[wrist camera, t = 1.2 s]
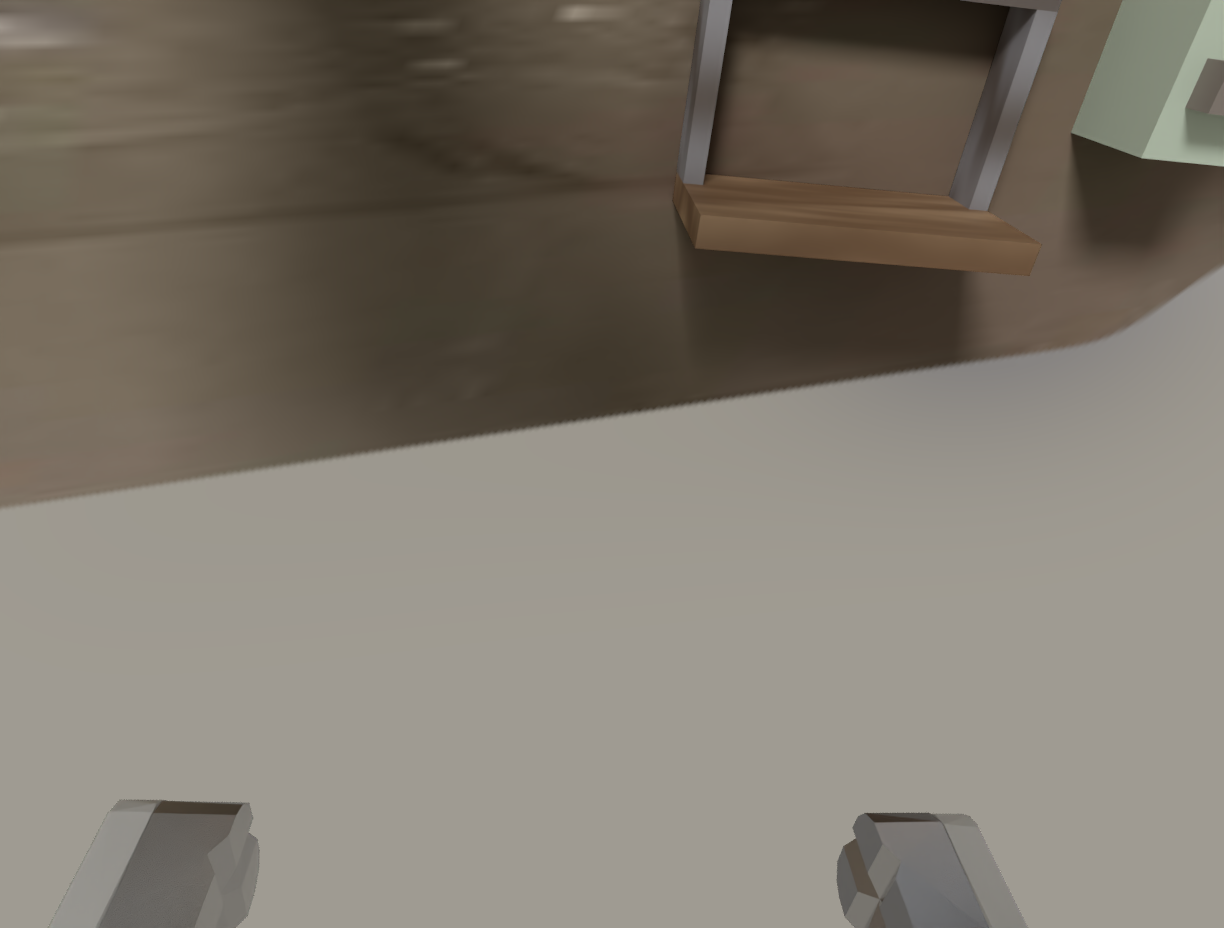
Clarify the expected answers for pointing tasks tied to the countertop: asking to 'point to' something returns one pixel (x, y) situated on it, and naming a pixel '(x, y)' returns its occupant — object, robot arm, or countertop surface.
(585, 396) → the countertop surface
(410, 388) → the countertop surface
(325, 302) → the countertop surface
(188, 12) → the countertop surface
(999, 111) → the grey and wood frame
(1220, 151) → the cabinet block
